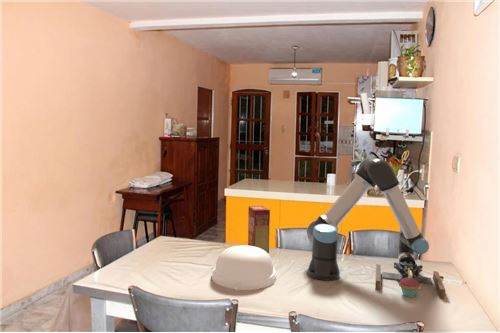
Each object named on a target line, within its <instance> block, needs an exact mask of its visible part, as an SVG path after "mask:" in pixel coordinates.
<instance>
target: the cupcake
mask: <svg viewBox="0 0 500 333" xmlns="http://www.w3.org/2000/svg"><path fill="white" fill-rule="evenodd" d="M398 286H399V287H400V289H401V292H402V295H403V296H405V297H408V298H409V297H411V298H412V297H415V295H416V293H417V291H418V290H420V288H421V283H419V282H418V281H417V280H415V279H412V278H410V268H408V278H403V279H401V280H400V281H399V282H398Z"/></svg>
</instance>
